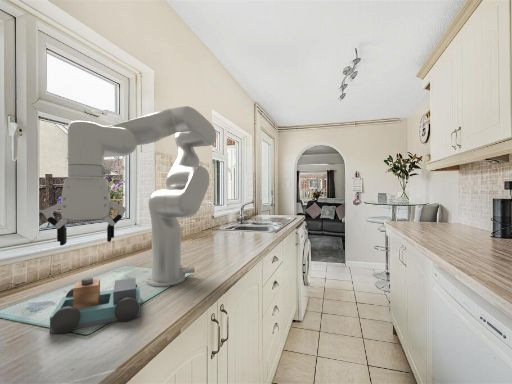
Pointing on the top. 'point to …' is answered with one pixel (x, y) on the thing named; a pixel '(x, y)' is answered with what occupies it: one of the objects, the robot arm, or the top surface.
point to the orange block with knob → (86, 293)
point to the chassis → (98, 308)
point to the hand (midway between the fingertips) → (87, 242)
